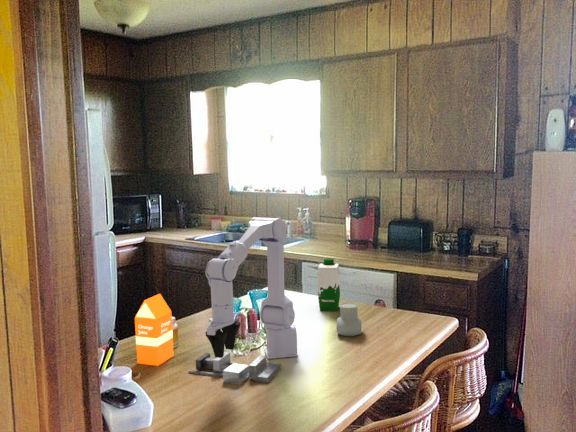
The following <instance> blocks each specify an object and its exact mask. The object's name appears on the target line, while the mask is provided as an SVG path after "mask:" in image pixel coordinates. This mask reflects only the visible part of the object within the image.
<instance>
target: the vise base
mask: <svg viewBox="0 0 576 432" xmlns="http://www.w3.org/2000/svg"><path fill="white" fill-rule="evenodd" d="M267 360H268V359H267V356H266V355H261V354H259V356H258V357H256V358H255V359H254V360H253V361H252V362H251V363H250V364H248V365H249V377H248V378H249V380H254V382H257V383H263V384H265V383H266V384H268V383H270V381H271V380H272V379H273V378H275V376H276V375H277V374H278V373H279V372H280V371H281V369H282V367H281V366H282V365H281V363H271V362H267ZM233 363H237V364H240V363H239V362H236V361H231V364H233ZM188 373H189V374H194V373H196V375H197V374H198V375H202V374H203V375H205V376H210V375H211V376H213V377H220V378H223V373H221V374H219V373H214V372H209V371H202V370H196V369H195V370H192V369H189V370H188Z"/></svg>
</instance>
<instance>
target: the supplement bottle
mask: <svg viewBox="0 0 576 432" xmlns="http://www.w3.org/2000/svg"><path fill="white" fill-rule="evenodd" d="M172 330H173V349H174V348H175V349H176V348H178V347H179V341H180V340H179V326H178V323H176V317H175V316H172Z"/></svg>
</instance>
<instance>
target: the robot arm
mask: <svg viewBox="0 0 576 432" xmlns="http://www.w3.org/2000/svg"><path fill="white" fill-rule="evenodd" d="M258 241H259V242H262V243H263V244H264V246H266V250H267V253H266V259H267V260H266V261H267V262H266V263H267V268H266V269H267V296H266V297H265V298H264V299H263V300H262V301H261V305H260V306H261V307H260V310H259V311H260V312H259V319H260V322H261V323H262V324H263V328H266V329H265V331H266V333H265V335H266V348H264V349H263V350H264V353H265V356H266V359H267V360H268V359H269V360H271V359H281V358H293V357H298V356H299V355H298V338H297V337H298V335H297V328H296V325H294V321H295V318H296V317H295V315H296V313H295V310H294V305H293V303H294V302H293V301H292V300H291V299H290V298H288V297H287V296H286V295H285V245H284V244H286V243H287V223H286V222H285V221H284V219H283V218H281V217H277V218H275V217H257V216H253V217H251V220H250V221H248V224H247V229H246V230H245V232H244V233H243V235H242V236H241V237H240V238H239V240H238V241H231V242H229V244H228V246H227V247H226V248H225V249H224V250H223V251H222V252H221V253H220V254H219V256H217V258H214V257H213V258H212V259H211V260H209V261H208V262H207V264H206V267H205V270H204V273H205V277H206V279H207V280H208V285H209V287H210V299H211V300H210V301H211V317H210V318H209V319H208V322H209V324H208V326H207V327H206V331H205V337H206V338H207V339H208V341H209V343H210V345H211V348H212V352H213V355H214V357H215V358H216V357H217V358H223V356H224V352H225V349H226V350H234V349H235V344H236V339H237V335H238V331H239V329H240V328H241V322H240V321H238V320H239V312H238V311H234V290H233V289H234V288H233V280H234V279H235V278H236V276H237V273H238V270H239V267H240V265H241V264H242V263H243V262H244V261H245V260H246V258H247V257H248V253H249V252H248V250H249V249H250V248H252V247H253V246H254V244H256V243H257V242H258Z"/></svg>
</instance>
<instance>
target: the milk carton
mask: <svg viewBox="0 0 576 432" xmlns="http://www.w3.org/2000/svg"><path fill="white" fill-rule="evenodd" d="M334 260H335V259H334V258H330V257H329V258H323V263H319V264H318V268H317V273H316V274H317V297H318V304H319V311H320V312H338V310H339V305H340V299H341V286H340V285H341V284H340V283H341V279H340V276H341V275H340V265H339V263H335V262H334Z"/></svg>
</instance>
